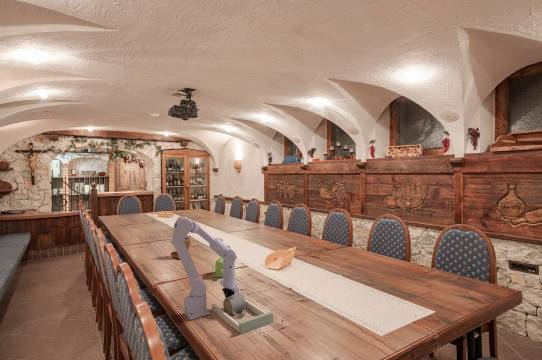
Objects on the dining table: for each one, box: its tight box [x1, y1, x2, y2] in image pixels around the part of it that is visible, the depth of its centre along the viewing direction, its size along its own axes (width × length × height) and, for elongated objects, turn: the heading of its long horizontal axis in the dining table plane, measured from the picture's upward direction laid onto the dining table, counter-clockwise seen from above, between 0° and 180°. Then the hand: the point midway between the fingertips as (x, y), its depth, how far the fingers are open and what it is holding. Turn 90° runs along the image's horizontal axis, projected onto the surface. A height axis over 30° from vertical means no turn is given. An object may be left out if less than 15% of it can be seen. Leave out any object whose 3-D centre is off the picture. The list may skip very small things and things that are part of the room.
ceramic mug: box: [222, 292, 247, 318], centre depth 139 cm, size 11×8×8 cm
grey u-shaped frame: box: [211, 298, 274, 335], centre depth 136 cm, size 15×27×4 cm, turn 36°
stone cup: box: [170, 236, 192, 259], centre depth 234 cm, size 15×12×15 cm
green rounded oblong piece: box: [214, 256, 223, 278], centre depth 191 cm, size 18×10×10 cm, turn 168°
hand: (229, 303), depth 145 cm, fingers closed
